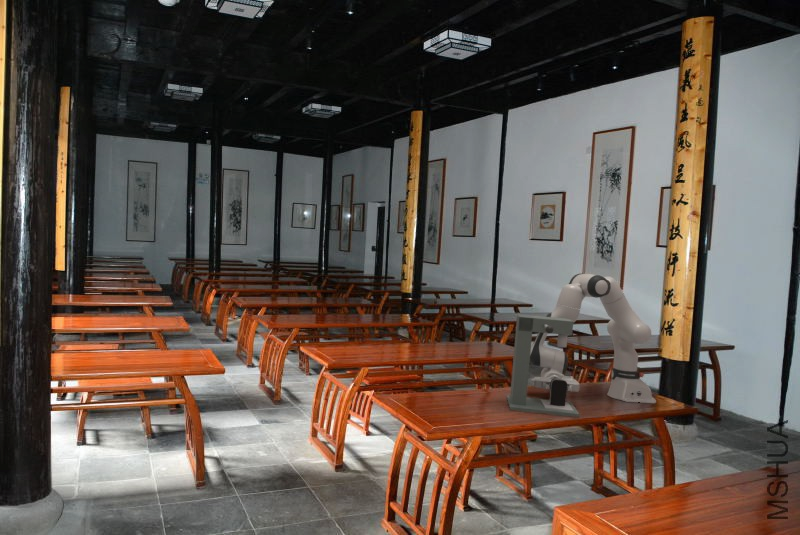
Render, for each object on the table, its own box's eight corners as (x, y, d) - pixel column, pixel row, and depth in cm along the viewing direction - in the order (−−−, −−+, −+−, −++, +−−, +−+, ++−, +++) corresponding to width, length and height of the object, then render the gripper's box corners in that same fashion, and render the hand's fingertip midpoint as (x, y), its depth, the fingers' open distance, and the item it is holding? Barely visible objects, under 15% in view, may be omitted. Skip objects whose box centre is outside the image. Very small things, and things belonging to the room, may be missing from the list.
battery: (563, 404, 262) (565, 378, 262) (565, 406, 259) (568, 380, 258) (547, 402, 262) (550, 377, 262) (549, 405, 259) (552, 379, 258)
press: (570, 404, 270) (578, 318, 268) (582, 422, 242) (591, 326, 241) (506, 398, 273) (514, 312, 271) (511, 415, 245) (519, 320, 243)
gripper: (531, 372, 274) (535, 379, 260) (576, 376, 272) (582, 383, 258) (530, 385, 274) (533, 393, 260) (575, 390, 272) (581, 397, 258)
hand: (558, 388), depth 259 cm, fingers open, 8 cm apart
